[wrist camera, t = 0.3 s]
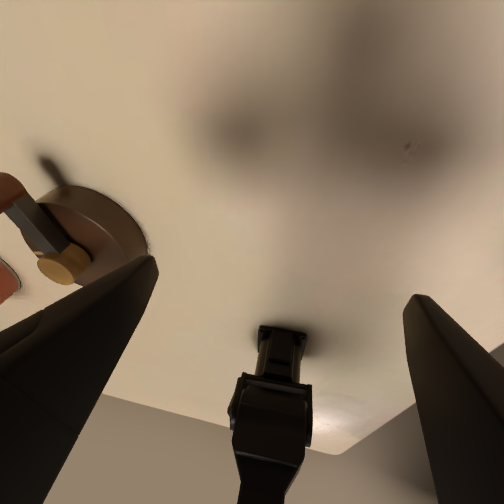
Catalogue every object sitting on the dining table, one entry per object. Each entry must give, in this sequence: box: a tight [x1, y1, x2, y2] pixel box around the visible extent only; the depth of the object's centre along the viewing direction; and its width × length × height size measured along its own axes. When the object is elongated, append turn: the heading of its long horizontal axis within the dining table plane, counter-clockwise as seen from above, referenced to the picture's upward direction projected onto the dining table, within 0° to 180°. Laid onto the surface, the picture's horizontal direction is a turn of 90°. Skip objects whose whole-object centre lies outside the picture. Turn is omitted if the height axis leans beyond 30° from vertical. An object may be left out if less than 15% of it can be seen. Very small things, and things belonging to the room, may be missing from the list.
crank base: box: [20, 186, 147, 287], centre depth 29 cm, size 12×12×4 cm
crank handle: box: [0, 172, 91, 285], centre depth 22 cm, size 11×4×9 cm, turn 15°
